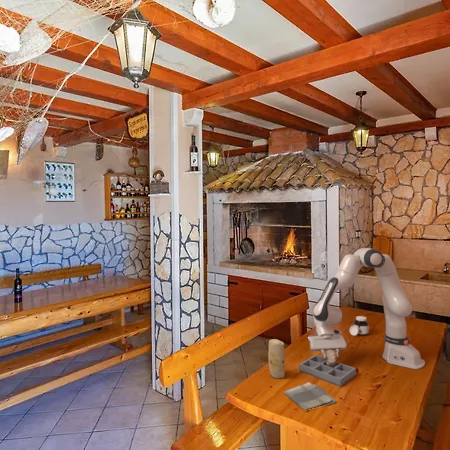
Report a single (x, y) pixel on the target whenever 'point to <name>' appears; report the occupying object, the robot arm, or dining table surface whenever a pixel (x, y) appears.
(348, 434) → the dining table surface
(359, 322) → the spread jar
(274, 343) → the food model
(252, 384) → the dining table surface
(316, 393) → the dish towel
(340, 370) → the gray compartment tray
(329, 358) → the egg
